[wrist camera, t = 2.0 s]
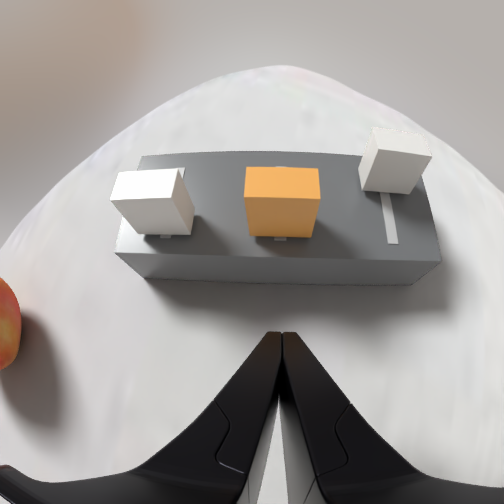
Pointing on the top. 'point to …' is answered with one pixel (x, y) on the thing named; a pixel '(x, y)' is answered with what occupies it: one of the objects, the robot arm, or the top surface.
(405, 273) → the grey cube slider board
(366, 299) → the top surface
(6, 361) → the apple
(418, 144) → the tab
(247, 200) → the tab
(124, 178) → the tab
